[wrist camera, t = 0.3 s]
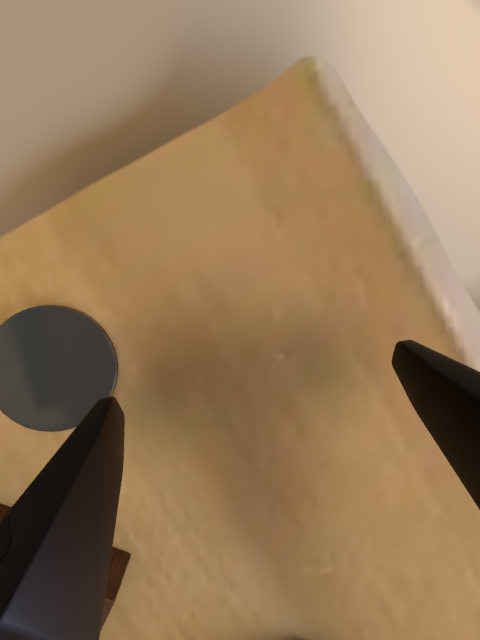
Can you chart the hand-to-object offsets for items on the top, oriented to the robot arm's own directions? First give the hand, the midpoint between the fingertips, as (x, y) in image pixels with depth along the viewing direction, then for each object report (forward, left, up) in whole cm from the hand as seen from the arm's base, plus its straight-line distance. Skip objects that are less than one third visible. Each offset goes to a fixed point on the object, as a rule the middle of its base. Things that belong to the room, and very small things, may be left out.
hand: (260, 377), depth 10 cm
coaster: (+6, +13, -15) cm, 20 cm away
